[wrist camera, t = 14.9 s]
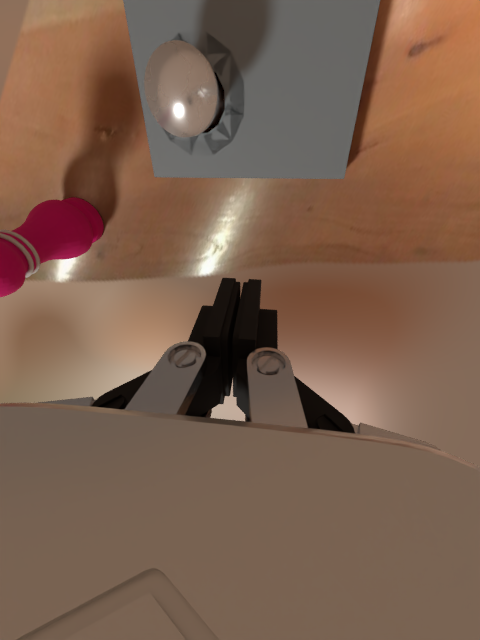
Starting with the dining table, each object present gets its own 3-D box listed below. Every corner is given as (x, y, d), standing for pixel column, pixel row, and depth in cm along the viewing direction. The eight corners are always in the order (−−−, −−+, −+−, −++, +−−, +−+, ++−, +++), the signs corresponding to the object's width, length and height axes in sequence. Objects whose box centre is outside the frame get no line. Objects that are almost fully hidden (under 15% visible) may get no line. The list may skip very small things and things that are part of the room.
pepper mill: (61, 181, 35) (-115, 228, 19) (113, 213, 37) (-9, 280, 21) (53, 226, 39) (-99, 296, 23) (100, 253, 41) (-11, 335, 25)
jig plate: (374, -5, 23) (383, -17, 21) (339, 175, 31) (343, 178, 29) (134, 7, 25) (122, -3, 23) (161, 174, 33) (154, 177, 31)
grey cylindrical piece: (230, 62, 27) (214, 38, 19) (231, 134, 30) (218, 137, 23) (172, 63, 27) (136, 41, 20) (181, 134, 31) (152, 137, 24)
